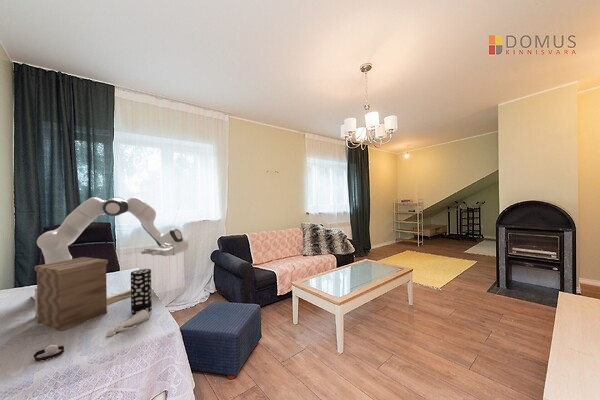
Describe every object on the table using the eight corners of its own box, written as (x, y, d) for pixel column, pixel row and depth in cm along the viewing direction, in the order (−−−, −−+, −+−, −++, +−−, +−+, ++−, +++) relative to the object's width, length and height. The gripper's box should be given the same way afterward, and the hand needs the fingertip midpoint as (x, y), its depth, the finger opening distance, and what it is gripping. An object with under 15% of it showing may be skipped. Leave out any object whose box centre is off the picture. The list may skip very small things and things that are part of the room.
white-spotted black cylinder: (155, 309, 116) (154, 269, 116) (137, 317, 109) (137, 274, 109) (145, 306, 120) (144, 268, 120) (127, 314, 112) (126, 272, 112)
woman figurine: (158, 308, 108) (115, 332, 91) (158, 318, 108) (116, 343, 91) (141, 305, 112) (97, 327, 95) (141, 314, 112) (98, 337, 95)
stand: (35, 323, 104) (34, 266, 104) (84, 306, 121) (83, 256, 121) (60, 332, 97) (59, 270, 97) (108, 312, 114) (107, 259, 114)
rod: (99, 305, 123) (99, 299, 123) (138, 291, 142) (138, 286, 142) (103, 306, 122) (102, 300, 122) (141, 292, 140) (141, 287, 140)
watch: (67, 350, 86) (66, 340, 86) (60, 357, 81) (60, 347, 81) (38, 356, 82) (38, 346, 82) (29, 364, 78) (29, 353, 78)
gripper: (155, 243, 162) (135, 247, 150) (177, 245, 155) (158, 249, 142) (155, 252, 162) (135, 257, 149) (177, 255, 155) (158, 260, 142)
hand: (146, 253), depth 146 cm, fingers open, 8 cm apart
